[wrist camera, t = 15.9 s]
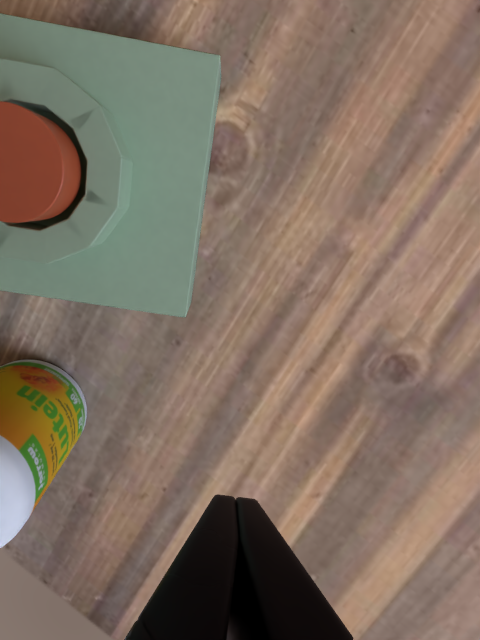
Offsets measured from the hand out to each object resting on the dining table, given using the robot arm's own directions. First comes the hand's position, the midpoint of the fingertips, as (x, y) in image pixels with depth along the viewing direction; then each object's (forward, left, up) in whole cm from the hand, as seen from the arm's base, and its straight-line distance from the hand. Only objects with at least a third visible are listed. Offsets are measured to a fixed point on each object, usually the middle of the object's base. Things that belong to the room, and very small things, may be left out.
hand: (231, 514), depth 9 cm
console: (+6, +8, -13) cm, 16 cm away
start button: (+6, +8, -9) cm, 13 cm away
